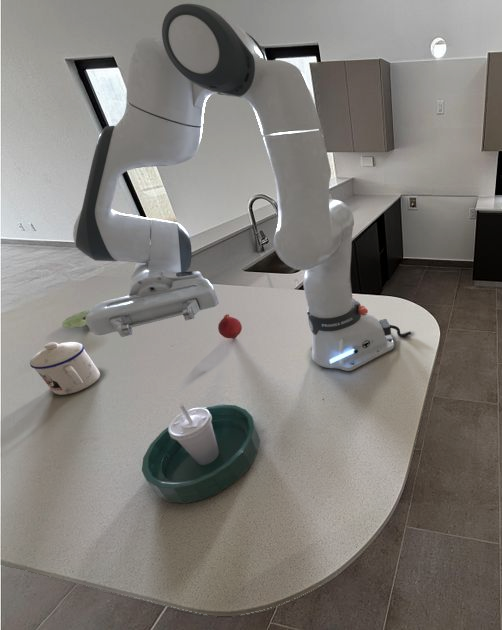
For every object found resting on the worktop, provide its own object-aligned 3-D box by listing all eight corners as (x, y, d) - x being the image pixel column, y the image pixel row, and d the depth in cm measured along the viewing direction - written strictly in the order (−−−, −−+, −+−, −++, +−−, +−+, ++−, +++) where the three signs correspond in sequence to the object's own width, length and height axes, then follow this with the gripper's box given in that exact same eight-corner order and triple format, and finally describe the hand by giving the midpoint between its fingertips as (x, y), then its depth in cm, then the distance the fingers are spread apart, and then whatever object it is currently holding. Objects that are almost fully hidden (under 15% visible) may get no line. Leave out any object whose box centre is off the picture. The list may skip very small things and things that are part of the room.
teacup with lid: (47, 386, 80) (16, 347, 74) (94, 365, 86) (69, 328, 80) (62, 407, 74) (30, 367, 68) (112, 383, 80) (86, 345, 74)
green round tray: (253, 409, 73) (247, 393, 71) (267, 472, 60) (260, 455, 58) (157, 444, 66) (146, 427, 63) (150, 525, 53) (136, 508, 50)
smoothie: (200, 478, 59) (168, 424, 52) (181, 460, 62) (149, 408, 55) (233, 451, 64) (209, 398, 56) (215, 436, 66) (189, 385, 59)
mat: (91, 333, 99) (88, 327, 98) (54, 332, 99) (50, 327, 98) (121, 313, 109) (118, 308, 108) (87, 313, 109) (84, 308, 108)
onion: (236, 345, 94) (227, 321, 89) (218, 342, 95) (208, 319, 90) (249, 333, 98) (241, 310, 94) (231, 331, 99) (223, 308, 95)
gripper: (84, 293, 62) (70, 327, 52) (207, 269, 72) (215, 293, 62) (101, 322, 66) (91, 358, 56) (216, 294, 75) (225, 321, 66)
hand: (157, 324), depth 59 cm, fingers open, 8 cm apart
